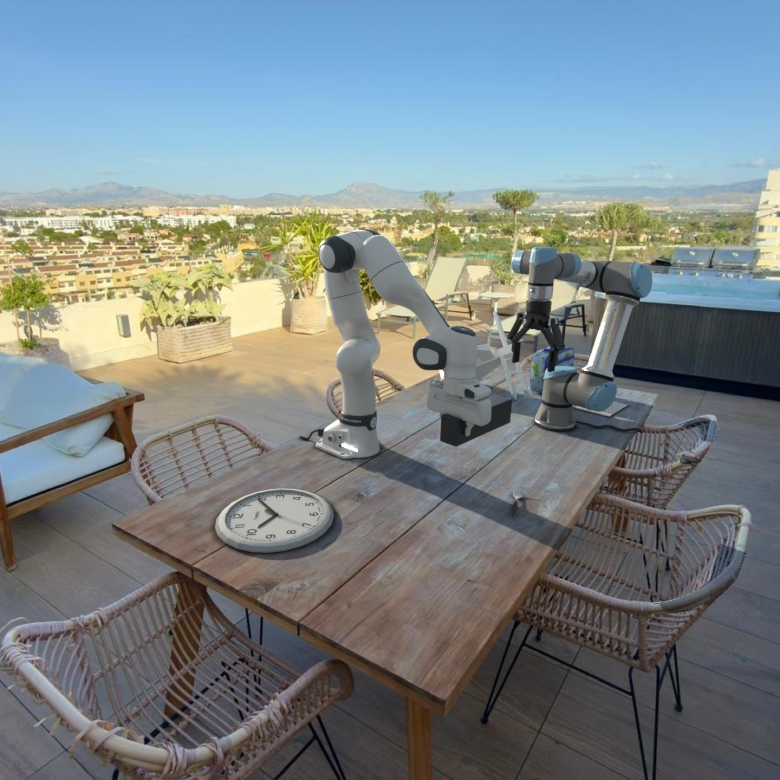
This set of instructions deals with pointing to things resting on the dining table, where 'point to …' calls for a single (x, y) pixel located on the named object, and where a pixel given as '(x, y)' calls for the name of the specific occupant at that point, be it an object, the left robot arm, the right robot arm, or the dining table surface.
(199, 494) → the dining table surface
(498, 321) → the white plastic object
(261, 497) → the wall clock
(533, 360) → the lunch box
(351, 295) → the left robot arm
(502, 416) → the bar
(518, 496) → the fork
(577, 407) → the invitation card
